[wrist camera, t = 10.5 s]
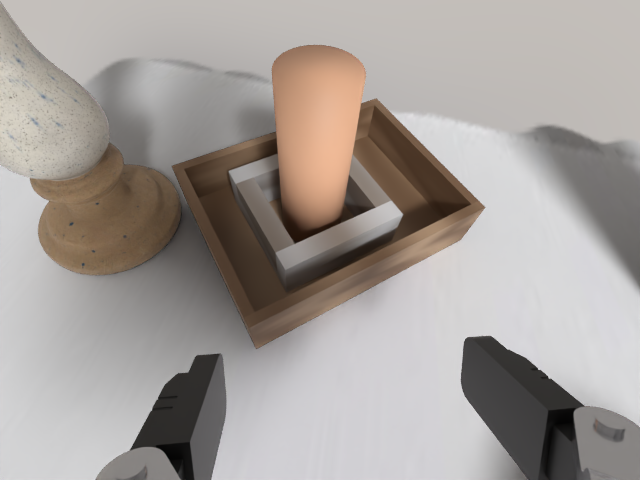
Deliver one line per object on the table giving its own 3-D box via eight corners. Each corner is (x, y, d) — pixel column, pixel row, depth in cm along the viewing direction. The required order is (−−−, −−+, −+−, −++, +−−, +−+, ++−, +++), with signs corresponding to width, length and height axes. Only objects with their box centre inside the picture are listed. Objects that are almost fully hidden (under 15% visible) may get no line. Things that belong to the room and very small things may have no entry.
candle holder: (157, 158, 27) (-77, -346, 10) (202, 238, 24) (-44, -338, 7) (34, 203, 24) (-588, -400, 7) (64, 302, 21) (-1053, -442, 4)
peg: (322, 190, 25) (335, 37, 16) (351, 230, 24) (384, 83, 14) (273, 210, 24) (256, 57, 15) (299, 254, 22) (299, 111, 13)
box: (367, 136, 30) (376, 98, 27) (460, 239, 25) (485, 207, 22) (187, 203, 25) (171, 165, 22) (256, 349, 20) (248, 328, 17)
